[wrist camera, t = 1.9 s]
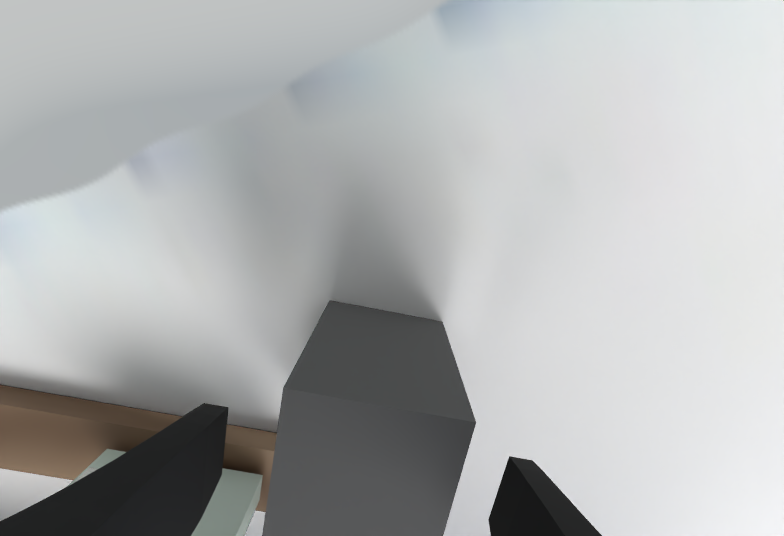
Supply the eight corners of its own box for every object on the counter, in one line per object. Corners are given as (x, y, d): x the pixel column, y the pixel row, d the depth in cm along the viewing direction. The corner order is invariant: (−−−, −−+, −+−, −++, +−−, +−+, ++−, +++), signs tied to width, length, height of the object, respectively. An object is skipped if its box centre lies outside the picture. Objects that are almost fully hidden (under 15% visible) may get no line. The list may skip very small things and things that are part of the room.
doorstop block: (418, 418, 15) (433, 569, 9) (313, 399, 15) (261, 541, 9) (442, 321, 14) (476, 422, 8) (329, 300, 14) (283, 387, 8)
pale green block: (259, 499, 14) (200, 638, 10) (106, 474, 14) (-21, 605, 10) (264, 462, 14) (205, 590, 10) (107, 435, 14) (-26, 554, 9)
